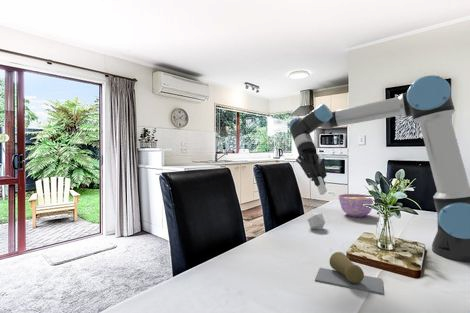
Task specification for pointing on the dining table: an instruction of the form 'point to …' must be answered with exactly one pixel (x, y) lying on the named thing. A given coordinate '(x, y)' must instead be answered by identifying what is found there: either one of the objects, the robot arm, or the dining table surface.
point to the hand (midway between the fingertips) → (323, 192)
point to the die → (316, 221)
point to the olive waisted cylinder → (346, 267)
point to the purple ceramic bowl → (355, 204)
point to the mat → (339, 279)
